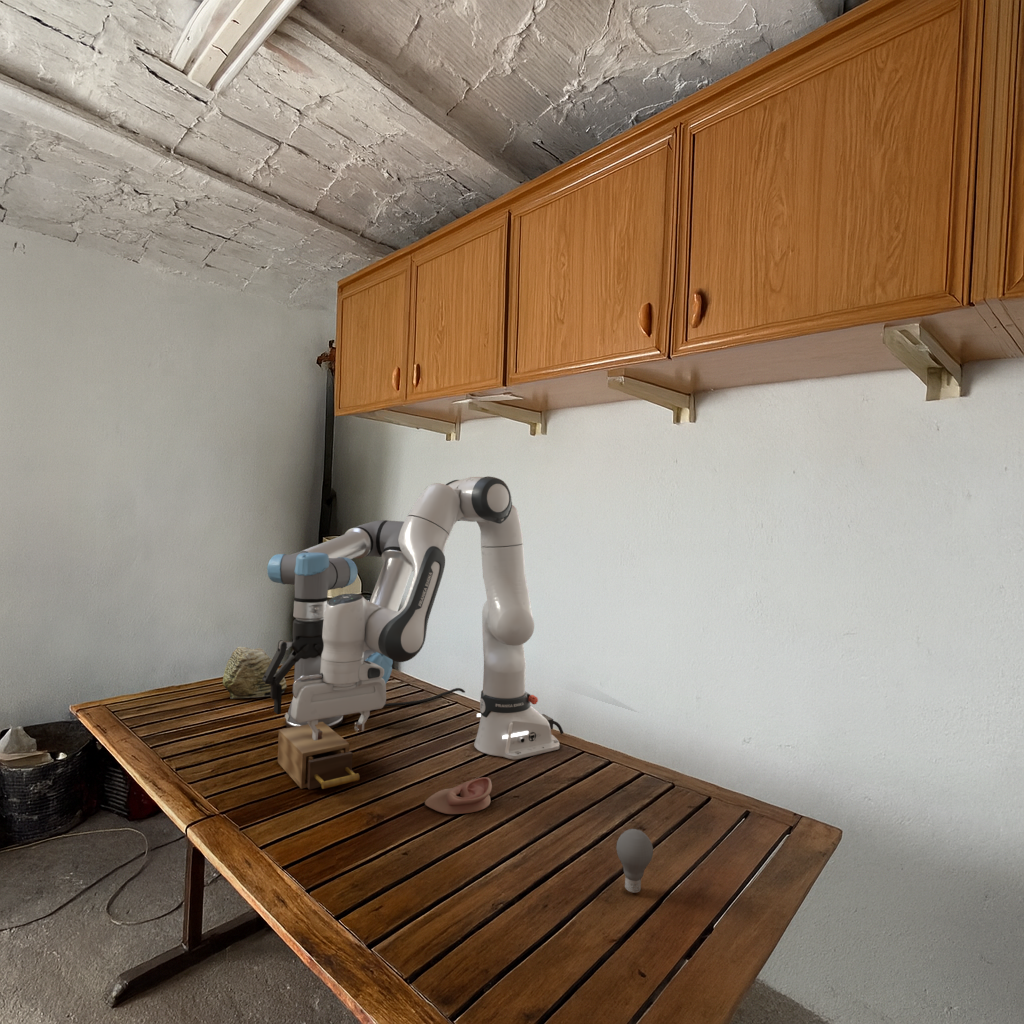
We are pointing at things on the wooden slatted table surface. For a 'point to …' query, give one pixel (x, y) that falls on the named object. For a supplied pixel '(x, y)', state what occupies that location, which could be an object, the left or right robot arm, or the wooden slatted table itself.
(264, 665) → the fossil
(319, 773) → the drawer
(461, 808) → the anatomical model
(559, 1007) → the wooden slatted table surface
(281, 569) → the left robot arm
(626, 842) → the light bulb
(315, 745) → the cabinet
